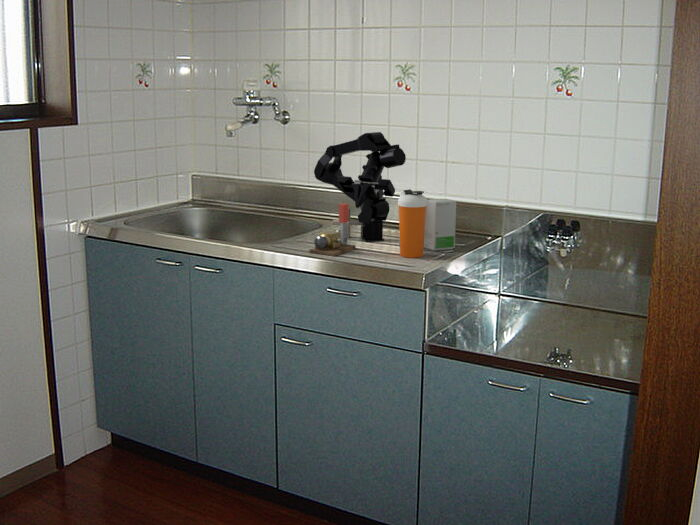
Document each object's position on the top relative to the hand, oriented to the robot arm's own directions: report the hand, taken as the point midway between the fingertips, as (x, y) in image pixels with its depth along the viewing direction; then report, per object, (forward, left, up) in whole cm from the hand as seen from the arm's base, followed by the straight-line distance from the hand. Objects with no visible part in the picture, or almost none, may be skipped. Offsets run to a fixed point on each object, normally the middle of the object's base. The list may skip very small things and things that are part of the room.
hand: (356, 207), depth 266 cm
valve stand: (+9, +3, -13) cm, 16 cm away
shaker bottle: (-13, +15, -13) cm, 24 cm away
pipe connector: (-1, -17, -13) cm, 21 cm away
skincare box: (-25, +7, -13) cm, 30 cm away
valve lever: (+6, +6, -11) cm, 14 cm away
